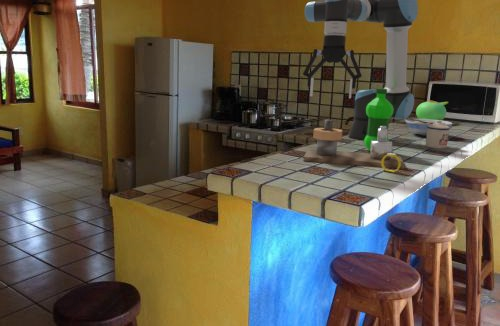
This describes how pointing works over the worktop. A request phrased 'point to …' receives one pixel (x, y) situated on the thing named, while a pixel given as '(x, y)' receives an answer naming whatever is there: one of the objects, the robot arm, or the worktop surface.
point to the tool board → (344, 154)
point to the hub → (381, 145)
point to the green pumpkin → (431, 110)
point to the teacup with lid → (437, 135)
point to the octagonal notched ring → (327, 134)
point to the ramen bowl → (422, 125)
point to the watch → (391, 156)
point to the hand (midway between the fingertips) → (330, 97)
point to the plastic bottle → (377, 116)
